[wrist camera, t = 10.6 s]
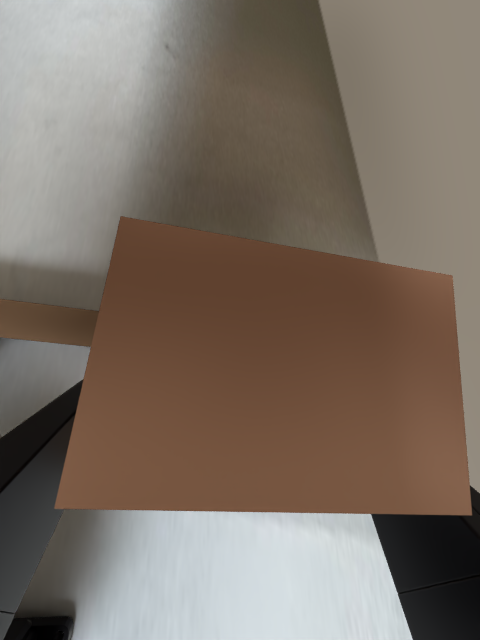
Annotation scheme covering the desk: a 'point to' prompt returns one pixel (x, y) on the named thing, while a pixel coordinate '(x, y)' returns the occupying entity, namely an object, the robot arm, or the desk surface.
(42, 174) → the desk surface
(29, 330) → the wooden l-shaped stand
